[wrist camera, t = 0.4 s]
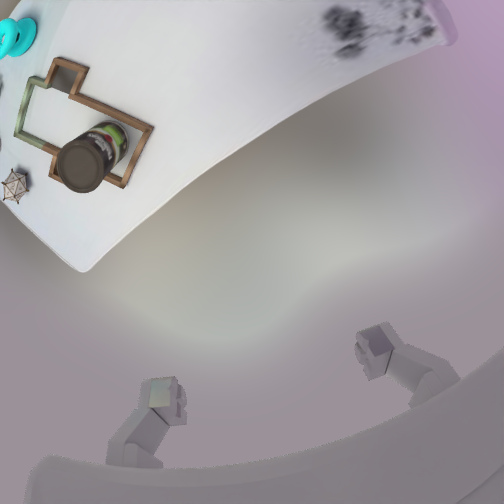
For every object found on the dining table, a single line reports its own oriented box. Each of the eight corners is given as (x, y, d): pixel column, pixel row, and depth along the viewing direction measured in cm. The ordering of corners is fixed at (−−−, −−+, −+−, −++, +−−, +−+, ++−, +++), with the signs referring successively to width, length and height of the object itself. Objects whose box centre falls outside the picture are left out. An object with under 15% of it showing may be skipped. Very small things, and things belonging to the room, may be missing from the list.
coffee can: (108, 110, 44) (77, 128, 34) (138, 143, 50) (114, 169, 39) (80, 142, 47) (47, 167, 37) (108, 172, 53) (82, 203, 43)
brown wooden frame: (43, 52, 31) (38, 52, 29) (167, 102, 45) (165, 104, 44) (14, 153, 44) (10, 156, 43) (118, 204, 59) (115, 209, 57)
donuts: (-7, 70, 23) (-22, 48, 17) (20, 63, 30) (5, 43, 24) (17, 31, 20) (2, 11, 14) (44, 30, 27) (28, 11, 21)
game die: (26, 167, 51) (4, 160, 41) (40, 182, 52) (18, 175, 42) (12, 195, 51) (-10, 191, 41) (25, 211, 52) (2, 208, 42)
